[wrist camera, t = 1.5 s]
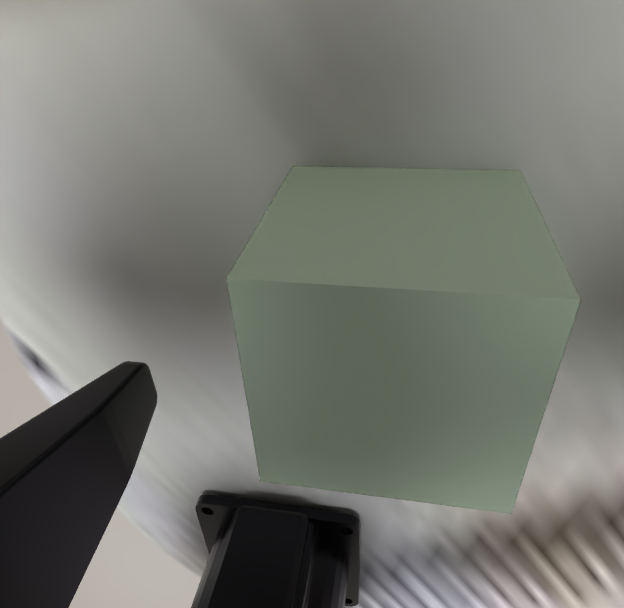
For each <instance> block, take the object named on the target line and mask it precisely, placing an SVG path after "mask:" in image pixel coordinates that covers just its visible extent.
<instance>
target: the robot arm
mask: <svg viewBox="0 0 624 608" xmlns="http://www.w3.org/2000/svg"><path fill="white" fill-rule="evenodd" d="M156 404H157V392H156V389H155V385H154V382H153V379H152V376H151V372H150V369H149V367H148V366H147V364H145V363H141V362H130V361H127V362H123V363H121V364H120V365H118V366H116V367H115V368H113V369H112V370H110V371H108V372H107V373H105V374H104V375H102V376H100V377H99V378H97V379H95V380H94V381H92V382H91V383H89V384H87V385H86V386H84V387H82V388H81V389H79V390H78V391H76V392H74V393H73V394H71V395H70V396H68V397H66V398H65V399H63V400H61V401H60V402H58V403H57V404H55V405H53V406H52V407H50V408H48V409H47V410H45V411H44V412H42V413H40V414H39V415H37V416H36V417H34V418H32V419H31V420H29V421H28V422H26V423H24V424H23V425H21V426H19V427H18V428H17V429H15V430H13V431H11V432H10V433H8V434H7V435H5V436H3V437H2V438H0V608H68V607H69V605H70V603H71V601H72V599H73V597H74V595H75V593H76V591H77V589H78V586H79V584H80V582H81V580H82V578H83V576H84V574H85V572H86V570H87V567H88V565H89V563H90V561H91V559H92V557H93V555H94V553H95V551H96V549H97V547H98V545H99V542H100V540H101V538H102V536H103V534H104V532H105V530H106V528H107V526H108V524H109V522H110V520H111V517H112V515H113V513H114V511H115V509H116V507H117V505H118V503H119V501H120V499H121V497H122V494H123V492H124V490H125V488H126V486H127V484H128V481H129V479H130V477H131V474H132V472H133V469H134V467H135V464H136V461H137V458H138V456H139V453H140V450H141V447H142V444H143V441H144V439H145V436H146V433H147V430H148V427H149V424H150V422H151V419H152V416H153V413H154V410H155V407H156ZM196 512H197V516H198V519H199V522H200V525H201V529H202V532H203V535H204V538H205V542H206V545H207V548H208V551H209V558H208V561H207V564H206V567H205V570H204V572H203V575H202V578H201V581H200V584H199V587H198V590H197V592H196V595H195V598H194V601H193V604H192V607H191V608H345V606H356V605H357V604H358V600H359V575H360V526H361V523H360V520H359V519H358V518H357V517H355V516H353V515H351V514H346V513H339V512H332V511H324V510H317V509H310V508H303V507H295V506H288V505H281V504H274V503H266V502H259V501H252V500H245V499H237V498H230V497H223V496H216V495H202V496H200V497H199V500H198V502H197V504H196Z"/></svg>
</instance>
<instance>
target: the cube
mask: <svg viewBox="0 0 624 608" xmlns="http://www.w3.org/2000/svg"><path fill="white" fill-rule="evenodd" d="M226 280H227V286H228V292H229V298H230V304H231V310H232V316H233V322H234V328H235V334H236V340H237V346H238V351H239V357H240V363H241V369H242V375H243V381H244V387H245V393H246V399H247V405H248V411H249V417H250V423H251V429H252V435H253V441H254V447H255V453H256V459H257V465H258V471H259V477H260V481H263V482H271V483H278V484H286V485H294V486H301V487H309V488H317V489H325V490H332V491H340V492H348V493H355V494H363V495H371V496H379V497H386V498H394V499H402V500H409V501H417V502H425V503H432V504H440V505H448V506H456V507H463V508H471V509H479V510H486V511H494V512H502V513H510V514H511V513H512V510H513V507H514V504H515V501H516V498H517V495H518V492H519V488H520V485H521V482H522V479H523V476H524V473H525V470H526V467H527V464H528V461H529V458H530V455H531V452H532V448H533V445H534V442H535V439H536V436H537V433H538V430H539V427H540V424H541V421H542V418H543V415H544V412H545V408H546V405H547V402H548V399H549V396H550V393H551V390H552V387H553V384H554V381H555V378H556V375H557V372H558V368H559V365H560V362H561V359H562V356H563V353H564V350H565V347H566V344H567V341H568V338H569V335H570V332H571V328H572V325H573V322H574V319H575V316H576V313H577V310H578V307H579V304H580V301H581V299H580V297H579V294H578V292H577V290H576V288H575V286H574V284H573V282H572V279H571V277H570V275H569V273H568V271H567V269H566V267H565V264H564V262H563V260H562V258H561V256H560V254H559V251H558V249H557V247H556V245H555V243H554V241H553V239H552V236H551V234H550V232H549V230H548V228H547V226H546V224H545V221H544V219H543V217H542V215H541V213H540V211H539V209H538V206H537V204H536V202H535V200H534V198H533V196H532V194H531V191H530V189H529V187H528V185H527V183H526V181H525V178H524V176H523V174H522V172H521V170H469V169H418V168H367V167H315V166H293V167H292V169H291V170H290V172H289V174H288V175H287V177H286V179H285V181H284V182H283V184H282V186H281V187H280V189H279V191H278V192H277V194H276V196H275V197H274V199H273V201H272V202H271V204H270V206H269V207H268V209H267V211H266V212H265V214H264V216H263V218H262V219H261V221H260V223H259V224H258V226H257V228H256V229H255V231H254V233H253V234H252V236H251V238H250V239H249V241H248V243H247V244H246V246H245V248H244V250H243V251H242V253H241V255H240V256H239V258H238V260H237V261H236V263H235V265H234V266H233V268H232V270H231V271H230V273H229V275H228V276H227V278H226Z"/></svg>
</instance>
